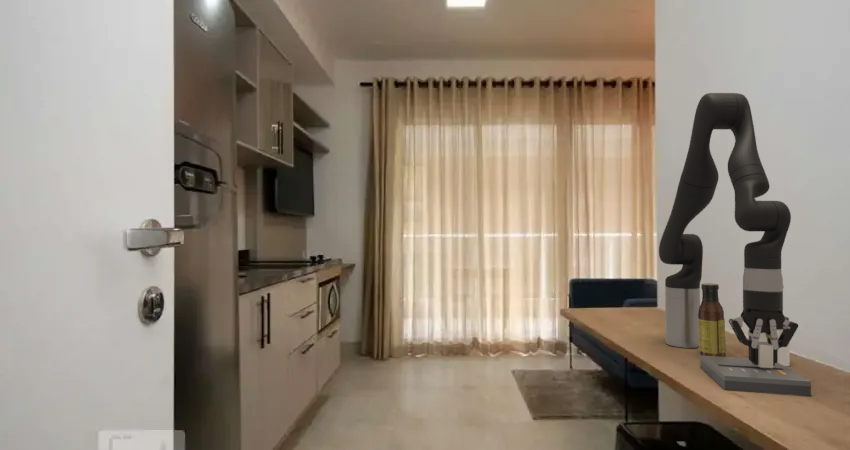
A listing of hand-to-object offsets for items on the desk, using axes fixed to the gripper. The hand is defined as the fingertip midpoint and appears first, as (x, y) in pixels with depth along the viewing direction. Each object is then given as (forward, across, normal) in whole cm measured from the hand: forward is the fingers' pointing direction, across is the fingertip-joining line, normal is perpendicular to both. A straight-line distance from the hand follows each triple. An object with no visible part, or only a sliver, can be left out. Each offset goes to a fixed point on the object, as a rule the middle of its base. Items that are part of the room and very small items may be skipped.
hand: (762, 364), depth 113 cm
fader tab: (+2, 0, 0) cm, 2 cm away
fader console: (+4, +2, 0) cm, 5 cm away
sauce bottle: (+4, +5, -21) cm, 22 cm away
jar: (+4, -8, -19) cm, 21 cm away
